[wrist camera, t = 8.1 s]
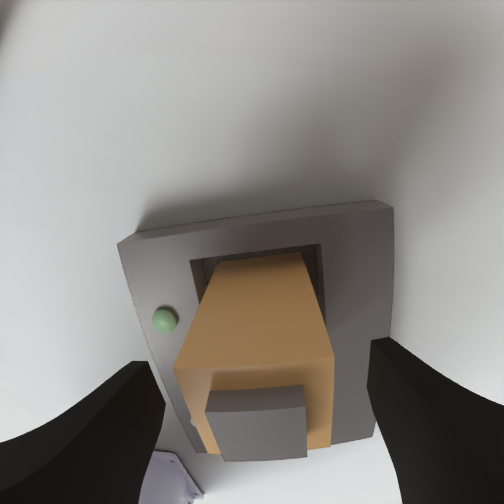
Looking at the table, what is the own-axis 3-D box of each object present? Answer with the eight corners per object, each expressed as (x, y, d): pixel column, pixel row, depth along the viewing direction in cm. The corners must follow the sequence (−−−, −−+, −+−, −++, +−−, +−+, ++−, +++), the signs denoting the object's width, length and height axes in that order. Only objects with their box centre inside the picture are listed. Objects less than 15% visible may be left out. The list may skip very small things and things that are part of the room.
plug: (306, 323, 15) (333, 465, 7) (231, 331, 16) (204, 472, 7) (300, 252, 14) (341, 377, 6) (218, 261, 15) (163, 389, 6)
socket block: (366, 416, 18) (373, 439, 15) (200, 431, 19) (195, 455, 17) (376, 200, 13) (396, 208, 11) (134, 232, 14) (113, 246, 12)
